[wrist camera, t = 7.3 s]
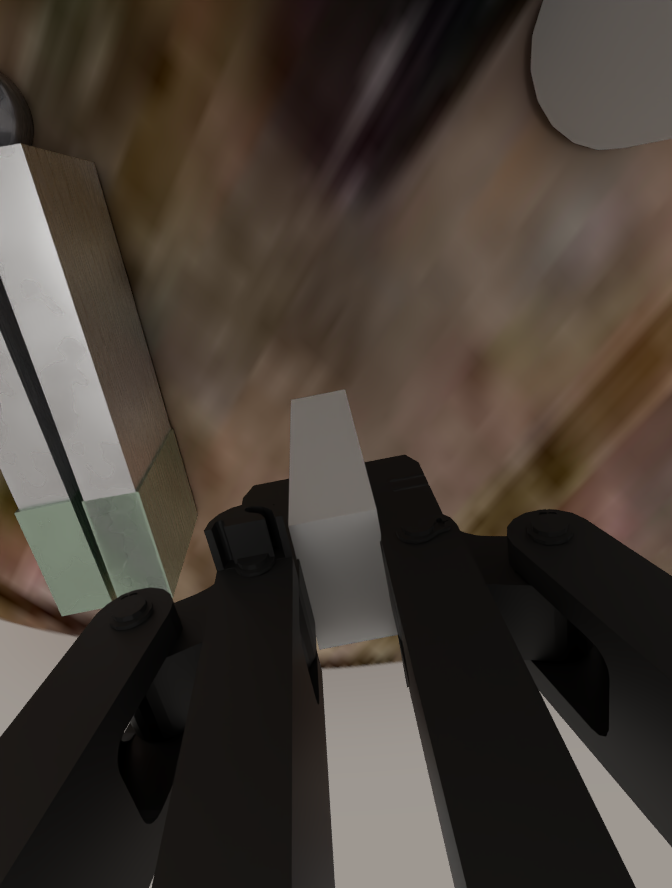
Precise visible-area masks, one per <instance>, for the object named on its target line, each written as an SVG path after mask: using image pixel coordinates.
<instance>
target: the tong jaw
mask: <svg viewBox="0 0 672 888" xmlns="http://www.w3.org/2000/svg"><path fill="white" fill-rule="evenodd" d="M0 276H1V279H2V282H3V284H4V287H5V290H6V293H7V295H8V298H9V301H10V303H11V306H12V309H13V311H14V314H15V317H16V319H17V322H18V325H19V328H20V330H21V333H22V336H23V338H24V341H25V344H26V346H27V349H28V352H29V354H30V357H31V360H32V363H33V365H34V368H35V371H36V373H37V376H38V379H39V381H40V384H41V387H42V389H43V392H44V395H45V398H46V400H47V403H48V406H49V408H50V411H51V414H52V416H53V419H54V422H55V424H56V427H57V430H58V433H59V435H60V438H61V441H62V443H63V446H64V449H65V451H66V454H67V457H68V459H69V462H70V465H71V468H72V470H73V473H74V476H75V478H76V481H77V484H78V486H79V489H80V492H81V494H82V497H83V500H82V505H83V507H84V510H85V513H86V515H87V518H88V521H89V523H90V526H91V529H92V531H93V534H94V537H95V539H96V542H97V545H98V547H99V550H100V553H101V555H102V558H103V561H104V563H105V566H106V569H107V572H108V574H109V577H110V580H111V582H112V585H113V588H114V590H115V593H116V596H117V598H118V597H119V596H121V595H123V594H125V593H127V592H128V593H129V592H130V591H134V590H137V589H143V588H149V587H152V588H161V589H164V590H165V591H167V592H168V593H170V594H171V597H173V595H174V592H175V589H176V586H177V582H178V579H179V576H180V572H181V569H182V566H183V563H184V559H185V556H186V553H187V549H188V546H189V543H190V540H191V536H192V533H193V530H194V526H195V523H196V520H197V516H198V514H197V510H196V507H195V503H194V500H193V496H192V493H191V489H190V486H189V482H188V479H187V476H186V472H185V469H184V465H183V462H182V458H181V455H180V451H179V448H178V444H177V441H176V437H175V434H174V430H173V428H171V427H170V424H169V420H168V417H167V413H166V410H165V406H164V403H163V399H162V396H161V392H160V389H159V386H158V382H157V379H156V375H155V372H154V368H153V365H152V361H151V358H150V354H149V351H148V347H147V344H146V341H145V337H144V334H143V330H142V327H141V323H140V320H139V316H138V313H137V309H136V306H135V302H134V299H133V296H132V292H131V289H130V285H129V282H128V278H127V275H126V271H125V268H124V264H123V261H122V257H121V254H120V251H119V247H118V244H117V240H116V237H115V233H114V230H113V226H112V223H111V219H110V216H109V212H108V209H107V206H106V202H105V199H104V195H103V192H102V188H101V185H100V181H99V178H98V174H97V171H96V167H95V164H94V163H93V162H90V161H86V160H82V159H78V158H74V157H71V156H67V155H63V154H59V153H55V152H52V151H48V150H44V149H40V148H36V147H33V146H29V145H25V144H21V143H20V144H14V145H8V146H3V147H0Z"/></svg>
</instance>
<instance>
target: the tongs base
mask: <svg viewBox="0 0 672 888" xmlns="http://www.w3.org/2000/svg"><path fill="white" fill-rule="evenodd" d="M33 133H34V130H33V120H32V116H31V112H30V109H29V107H28V104H27V102H26V100H25V98H24V97H23V95H22V94H21V92H20V91H19V89H18V88H17V87H16V86H15V84H14V83H13V82H12V81H11V80H10V79H9V78H7V77H6V76H5V75H4V74H2V73H1V72H0V147H3V146H8V145H14V144H20V143H21V144H25V145H29V146H32V142H33ZM0 469H1V471H2V473H3V475H4V478H5V480H6V482H7V484H8V486H9V489H10V491H11V493H12V495H13V497H14V500H15V502H16V504H17V506H18V508H19V509H18V510H17V511H16V512H15V515H16V518H17V520H18V522H19V524H20V526H21V528H22V531H23V533H24V535H25V537H26V539H27V541H28V544H29V546H30V548H31V550H32V552H33V554H34V557H35V559H36V561H37V563H38V565H39V568H40V570H41V572H42V574H43V576H44V578H45V581H46V583H47V585H48V587H49V589H50V591H51V594H52V596H53V598H54V600H55V602H56V604H57V607H58V609H59V611H60V613H61V615H62V616H65V615H70V614H75V613H80V612H85V611H90V610H95V609H100V608H104V607H105V606H106V605H107V604H108V603H110V602H111V601H113V600H115V599H116V598H117V596H116V593H115V590H114V588H113V585H112V582H111V580H110V577H109V574H108V572H107V569H106V566H105V563H104V561H103V558H102V555H101V553H100V550H99V547H98V545H97V542H96V539H95V537H94V534H93V531H92V529H91V526H90V523H89V521H88V518H87V515H86V513H85V510H84V507H83V505H82V500H83V497H82V494H81V492H80V489H79V486H78V484H77V481H76V478H75V476H74V473H73V470H72V468H71V465H70V462H69V459H68V457H67V454H66V451H65V449H64V446H63V443H62V441H61V438H60V435H59V433H58V430H57V427H56V424H55V422H54V419H53V416H52V414H51V411H50V408H49V406H48V403H47V400H46V398H45V395H44V392H43V389H42V387H41V384H40V381H39V379H38V376H37V373H36V371H35V368H34V365H33V363H32V360H31V357H30V354H29V352H28V349H27V346H26V344H25V341H24V338H23V336H22V333H21V330H20V328H19V325H18V322H17V319H16V317H15V314H14V311H13V309H12V306H11V303H10V301H9V298H8V295H7V293H6V290H5V287H4V284H3V282H2V279H1V276H0Z"/></svg>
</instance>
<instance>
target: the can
mask: <svg viewBox="0 0 672 888" xmlns="http://www.w3.org/2000/svg"><path fill="white" fill-rule="evenodd" d="M531 74H532V79H533V83H534V87H535V92H536V96H537V100H538V103H539V104H540V106H541V108H542V109H543V111H544V113H545V114H546V116H547V118H548V119H549V121H550V123H551V124H552V126H553V127H554V128H556V129H557V130H558V131H559V132H560V133H562V134H563V135H564V136H565V137H567V138H568V139H569V140H570V141H572V142H573V143H576V144H579V145H582V146H586V147H589V148H592V149H596V150H606V149H619V148H627V147H632V146H637V145H642V144H647V143H652V142H657V141H662V140H668V139H672V0H543V2H542V6H541V9H540V12H539V15H538V19H537V22H536V25H535V28H534V32H533V35H532V51H531Z"/></svg>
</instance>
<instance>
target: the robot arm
mask: <svg viewBox="0 0 672 888" xmlns="http://www.w3.org/2000/svg"><path fill="white" fill-rule="evenodd" d="M204 532H205V535H206V538H207V541H208V544H209V548H210V551H211V554H212V557H213V560H214V563H215V566H216V569H217V574H216V579H215V584H214V585H212V586H211V587H209V588H208V589H206V590H204V591H202V592H200V593H198V594H196V595H193V596H191V597H188V598H186V599H183V600H181V601H178V602H176V603H174V602H173V599H172V597H171V594H170V593H168V592H167V591H165V590H164V589H161V588H152V587H149V588H143V589H137V590H134V591H130V592H129V593H128V592H127V593H125V594H123V595H121V596H119V597H118V598H116V599H115V600H113V601H111V602H110V603H108V604H107V605H106V606H105V607H104V608H103V609H102V610H100V611H99V612H98V613H97V614H96V615H95V617H94V618H93V619H92V621H91V622H90V623H89V624H88V626H87V627H86V628H85V630H84V631H83V632H82V633H81V635H80V636H79V637H78V638H77V640H76V641H75V642H74V644H73V645H72V646H71V647H70V649H69V650H68V651H67V653H66V654H65V655H64V656H63V658H62V659H61V660H60V662H59V663H58V664H57V665H56V667H55V668H54V669H53V670H52V672H51V673H50V674H49V676H48V677H47V678H46V679H45V681H44V682H43V683H42V685H41V686H40V687H39V688H38V690H37V691H36V692H35V693H34V695H33V696H32V697H31V699H30V700H29V701H28V702H27V704H26V705H25V706H24V707H23V709H22V710H21V711H20V713H19V714H18V715H17V716H16V718H15V719H14V720H13V722H12V723H11V724H10V725H9V727H8V728H7V729H6V731H5V732H4V733H3V734H2V736H1V737H0V888H149V886H150V883H151V881H152V879H153V876H154V879H153V884H152V888H335V880H334V864H333V847H332V830H331V814H330V798H329V781H328V764H327V747H326V731H325V714H324V698H323V681H322V669H321V665H320V662H319V658H318V654H317V650H316V637H317V641H318V645H319V649H325V648H331V647H336V646H341V645H346V644H352V643H357V642H362V641H367V640H373V639H378V638H383V637H389V636H394V635H398V639H399V644H400V650H401V655H402V661H403V667H404V672H405V678H406V683H407V687H409V690H410V694H411V699H412V703H413V707H414V712H415V716H416V721H417V725H418V730H419V734H420V738H421V742H422V747H423V751H424V756H425V760H426V764H427V769H428V773H429V778H430V782H431V786H432V791H433V795H434V799H435V804H436V808H437V812H438V816H439V821H440V825H441V829H442V834H443V838H444V843H445V847H446V852H447V856H448V860H449V865H450V869H451V873H452V878H453V882H454V887H455V888H636V887H635V885H634V883H633V881H632V879H631V877H630V875H629V873H628V871H627V869H626V867H625V865H624V863H623V861H622V859H621V857H620V854H619V853H618V850H617V848H616V847H615V845H614V842H613V840H612V839H611V836H610V834H609V832H608V830H607V828H606V826H605V824H604V822H603V820H602V818H601V816H600V814H599V812H598V810H597V808H596V806H595V804H594V802H593V800H592V798H591V796H590V794H589V792H588V790H587V787H586V786H585V783H584V781H583V779H582V777H581V775H580V773H579V771H578V769H577V767H576V765H575V763H574V761H573V759H572V757H571V755H570V753H569V751H568V749H567V747H566V745H565V743H564V741H563V739H562V737H561V735H560V733H559V731H558V729H557V727H556V725H555V723H554V721H553V719H552V716H551V715H550V712H549V710H548V708H547V707H546V704H545V702H544V701H543V698H542V696H541V694H540V692H541V693H542V694H543V696H544V697H545V698H546V699H547V700H548V702H549V703H550V704H551V705H552V706H553V707H554V709H555V710H556V711H557V712H558V713H559V715H560V716H561V717H562V718H563V719H564V720H565V722H566V723H567V724H568V725H569V726H570V728H571V729H572V730H573V731H574V732H575V733H576V735H577V736H578V737H579V738H580V739H581V741H582V742H583V743H584V744H585V745H586V746H587V748H588V749H589V750H590V751H591V752H592V753H593V755H594V756H595V757H596V758H597V759H598V761H599V762H600V763H601V764H602V765H603V766H604V768H605V769H606V770H607V771H608V772H609V773H610V775H611V776H612V777H613V778H614V779H615V781H616V782H617V783H618V784H619V785H620V786H621V788H622V789H623V790H624V791H625V792H626V794H627V795H628V796H629V797H630V798H631V799H632V801H633V802H634V803H635V804H636V805H637V807H638V808H639V809H640V810H641V811H642V812H643V814H644V815H645V816H646V817H647V818H648V820H649V821H650V822H651V823H652V824H653V825H654V827H655V828H656V829H657V830H658V831H659V833H660V834H661V835H662V836H663V837H664V838H665V840H667V842H668V843H669V844H670V845H671V847H672V576H671V575H669V574H668V573H666V572H665V571H663V570H662V569H660V568H659V567H657V566H656V565H654V564H653V563H651V562H650V561H648V560H647V559H645V558H644V557H642V556H640V555H639V554H637V553H636V552H634V551H633V550H631V549H630V548H628V547H627V546H625V545H624V544H622V543H621V542H619V541H618V540H616V539H615V538H613V537H612V536H610V535H609V534H607V533H606V532H604V531H603V530H601V529H600V528H598V527H597V526H595V525H594V524H592V523H591V522H589V521H588V520H586V519H584V518H582V517H580V516H578V515H576V514H573V513H570V512H565V511H560V510H552V509H548V510H546V509H545V510H537V511H532V512H528V513H524V514H522V515H520V516H519V517H517V518H515V519H513V521H512V522H511V523H510V524H509V526H508V527H507V536H478V535H472V534H468V533H464V532H462V531H460V530H459V528H458V526H457V524H456V523H455V522H454V521H453V520H452V519H451V518H450V517H448V516H446V515H443V514H442V511H441V509H440V507H439V505H438V503H437V501H436V499H435V497H434V494H433V492H432V490H431V488H430V486H429V485H428V482H427V480H426V477H425V476H424V473H423V471H422V469H421V467H420V465H419V462H417V461H415V460H413V459H412V458H410V457H408V456H407V455H400V456H395V457H390V458H385V459H380V460H375V461H369V462H364V460H363V456H362V452H361V448H360V445H359V441H358V437H357V433H356V429H355V426H354V422H353V418H352V414H351V410H350V407H349V403H348V399H347V395H346V391H345V389H344V390H339V391H334V392H329V393H324V394H319V395H314V396H308V397H303V398H298V399H293V400H291V427H290V473H289V479H285V480H280V481H275V482H270V483H265V484H259V485H254V486H253V487H252V488H251V490H250V491H249V492H248V493H247V494H246V495H245V497H244V498H243V501H242V505H240V506H237V507H233V508H231V509H229V510H227V511H225V512H223V513H221V514H219V515H217V516H216V517H215V518H214V519H213V520H211V521H210V522H209V523H208V525H207V527H206V528H205V530H204ZM539 691H540V692H539ZM129 722H130V724H129ZM128 724H129V725H128ZM127 726H128V727H127ZM126 728H127V729H126ZM125 729H126V731H125ZM124 731H125V732H124Z"/></svg>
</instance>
